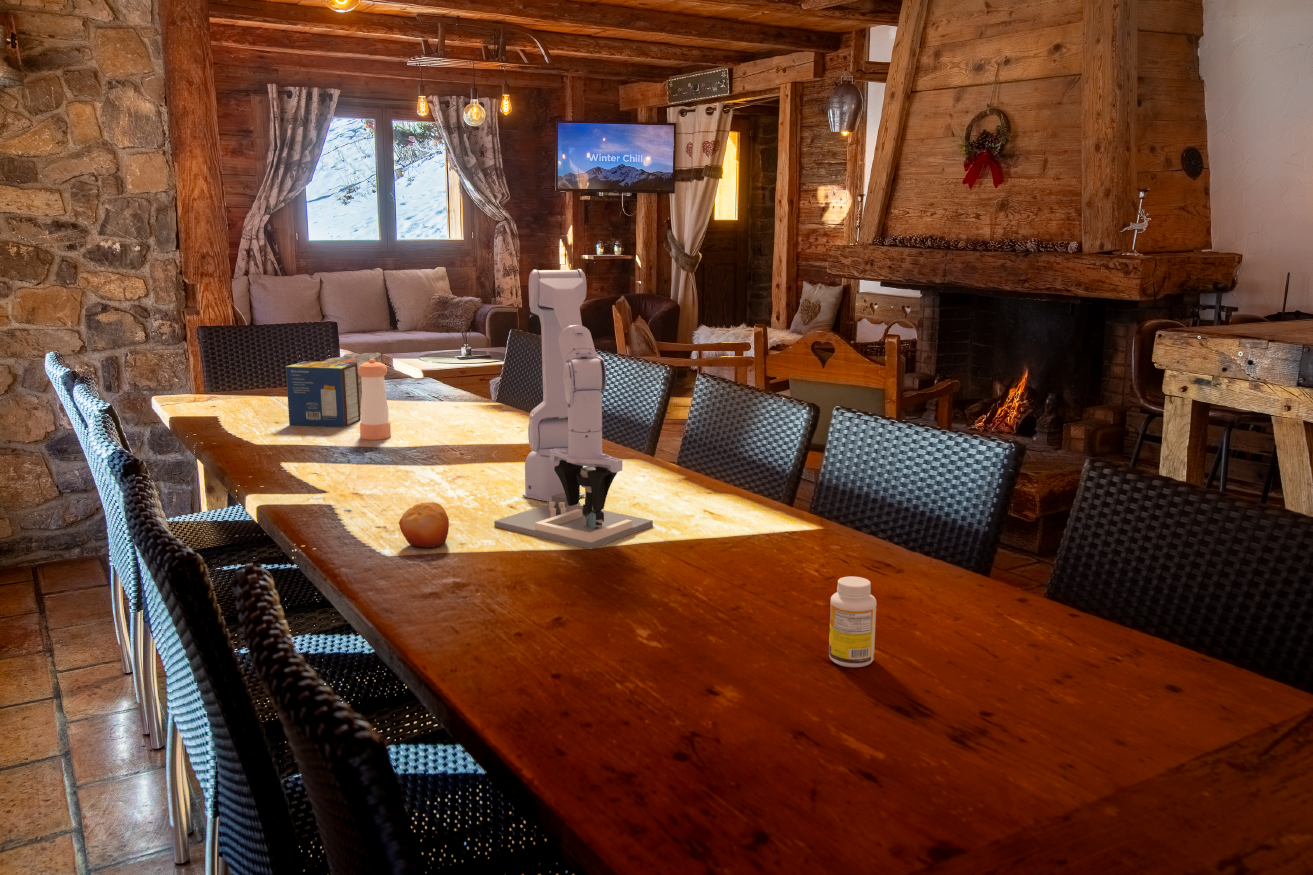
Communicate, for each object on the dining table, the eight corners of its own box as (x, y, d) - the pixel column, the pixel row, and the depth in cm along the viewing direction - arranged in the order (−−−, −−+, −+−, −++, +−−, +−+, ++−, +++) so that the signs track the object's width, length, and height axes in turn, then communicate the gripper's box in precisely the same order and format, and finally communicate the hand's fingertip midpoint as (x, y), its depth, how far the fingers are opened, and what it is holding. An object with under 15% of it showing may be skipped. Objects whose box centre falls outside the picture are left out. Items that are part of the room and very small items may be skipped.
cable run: (542, 517, 193) (542, 508, 193) (554, 500, 204) (553, 492, 204) (565, 517, 193) (565, 508, 192) (575, 501, 204) (575, 492, 203)
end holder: (534, 529, 185) (534, 522, 185) (577, 515, 194) (577, 508, 194) (590, 542, 178) (590, 535, 178) (632, 527, 187) (632, 520, 187)
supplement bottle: (842, 647, 138) (846, 570, 136) (882, 659, 134) (886, 580, 132) (819, 660, 134) (822, 581, 132) (859, 673, 130) (863, 592, 128)
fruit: (464, 529, 184) (451, 495, 179) (445, 564, 178) (430, 530, 173) (422, 524, 186) (408, 491, 181) (402, 558, 181) (386, 525, 176)
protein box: (306, 418, 290) (302, 360, 287) (361, 420, 288) (358, 362, 285) (288, 425, 280) (284, 366, 277) (344, 427, 278) (341, 367, 275)
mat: (494, 526, 191) (494, 520, 190) (558, 506, 204) (558, 500, 204) (591, 549, 178) (591, 543, 178) (652, 525, 191) (652, 520, 191)
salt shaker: (397, 436, 268) (393, 358, 264) (375, 441, 262) (371, 362, 258) (376, 432, 271) (372, 356, 268) (354, 437, 265) (349, 359, 262)
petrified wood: (303, 410, 302) (299, 356, 299) (331, 400, 319) (328, 349, 316) (366, 412, 299) (363, 358, 296) (391, 402, 316) (389, 350, 313)
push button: (616, 528, 186) (615, 472, 183) (587, 533, 183) (586, 476, 181) (599, 518, 191) (599, 463, 189) (572, 523, 189) (570, 467, 187)
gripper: (537, 427, 184) (538, 505, 187) (603, 438, 176) (604, 519, 178) (564, 421, 190) (565, 496, 192) (630, 431, 181) (630, 510, 184)
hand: (585, 507), depth 186 cm, fingers closed on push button, 5 cm apart
